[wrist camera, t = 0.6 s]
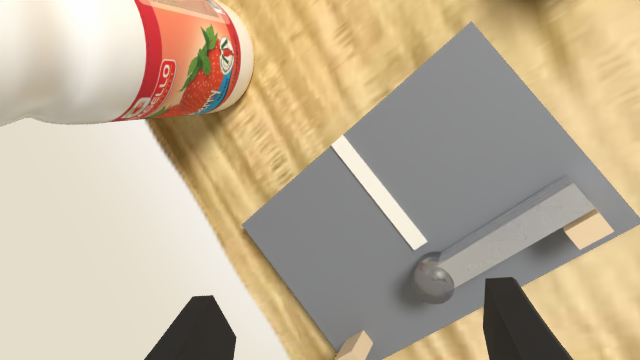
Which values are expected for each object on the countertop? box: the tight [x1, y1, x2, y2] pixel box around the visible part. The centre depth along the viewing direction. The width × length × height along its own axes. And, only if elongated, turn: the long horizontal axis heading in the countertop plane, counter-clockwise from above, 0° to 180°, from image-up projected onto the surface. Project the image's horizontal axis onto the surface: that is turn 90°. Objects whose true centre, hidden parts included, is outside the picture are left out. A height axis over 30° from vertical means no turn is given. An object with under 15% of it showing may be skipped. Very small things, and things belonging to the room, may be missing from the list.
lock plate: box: [242, 21, 640, 360], centre depth 30 cm, size 16×24×4 cm, turn 131°
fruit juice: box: [0, 0, 254, 126], centre depth 23 cm, size 9×9×28 cm
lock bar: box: [411, 175, 595, 304], centre depth 27 cm, size 12×3×2 cm, turn 131°
